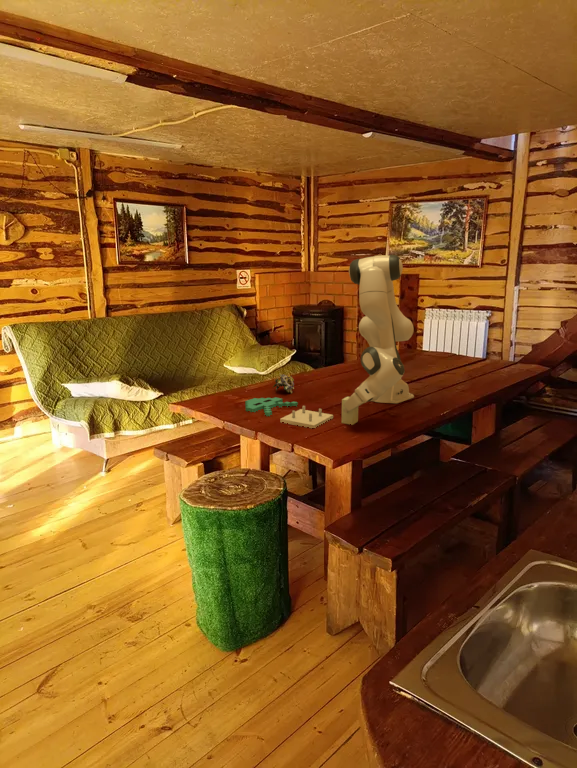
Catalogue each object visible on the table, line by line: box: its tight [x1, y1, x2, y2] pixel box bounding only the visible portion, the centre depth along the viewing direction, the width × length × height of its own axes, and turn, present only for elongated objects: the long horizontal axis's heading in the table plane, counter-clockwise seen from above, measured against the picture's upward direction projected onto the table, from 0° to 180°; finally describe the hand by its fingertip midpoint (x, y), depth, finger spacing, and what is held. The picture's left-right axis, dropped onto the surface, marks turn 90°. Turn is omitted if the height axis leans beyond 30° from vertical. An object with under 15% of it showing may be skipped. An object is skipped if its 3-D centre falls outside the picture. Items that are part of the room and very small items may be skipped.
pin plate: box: [279, 405, 334, 429], centre depth 229 cm, size 16×16×4 cm
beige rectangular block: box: [341, 396, 359, 426], centre depth 225 cm, size 5×5×10 cm
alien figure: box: [244, 396, 299, 417], centre depth 248 cm, size 20×2×20 cm
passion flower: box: [272, 372, 295, 394], centre depth 272 cm, size 11×11×12 cm
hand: (348, 409), depth 225 cm, fingers closed on beige rectangular block, 5 cm apart
